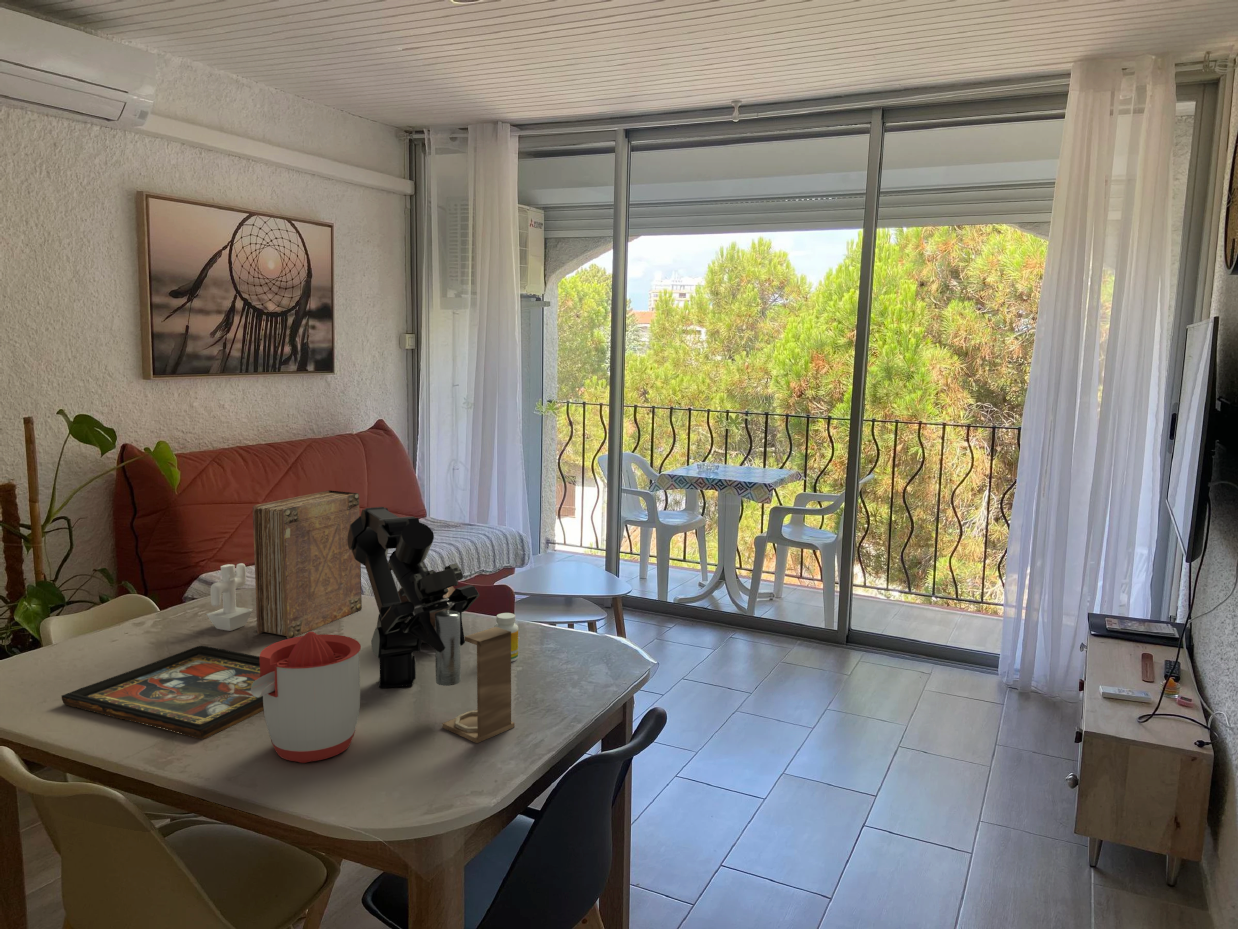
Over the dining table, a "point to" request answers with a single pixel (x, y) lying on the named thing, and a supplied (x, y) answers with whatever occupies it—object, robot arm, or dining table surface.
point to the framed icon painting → (180, 692)
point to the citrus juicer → (310, 695)
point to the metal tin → (448, 648)
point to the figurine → (229, 599)
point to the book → (305, 562)
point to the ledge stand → (488, 688)
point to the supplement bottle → (508, 624)
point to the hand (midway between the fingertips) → (452, 647)
